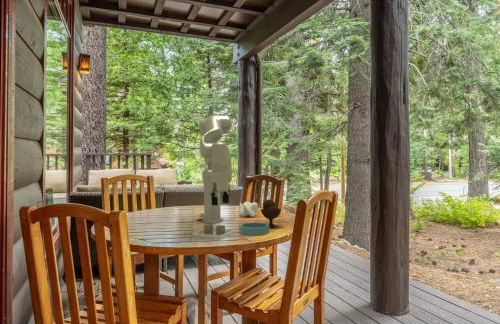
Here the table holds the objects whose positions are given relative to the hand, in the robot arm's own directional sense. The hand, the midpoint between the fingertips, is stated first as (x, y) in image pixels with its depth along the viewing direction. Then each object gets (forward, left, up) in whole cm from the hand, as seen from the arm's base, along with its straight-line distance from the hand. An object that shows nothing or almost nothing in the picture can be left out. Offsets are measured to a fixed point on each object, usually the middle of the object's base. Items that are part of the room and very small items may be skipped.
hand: (220, 204), depth 171 cm
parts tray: (-4, 0, -16) cm, 16 cm away
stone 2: (0, 0, -15) cm, 15 cm away
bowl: (+11, +13, -16) cm, 23 cm away
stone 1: (-7, 0, -15) cm, 17 cm away
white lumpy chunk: (-14, +56, -16) cm, 60 cm away
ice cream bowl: (+12, +31, -16) cm, 37 cm away
